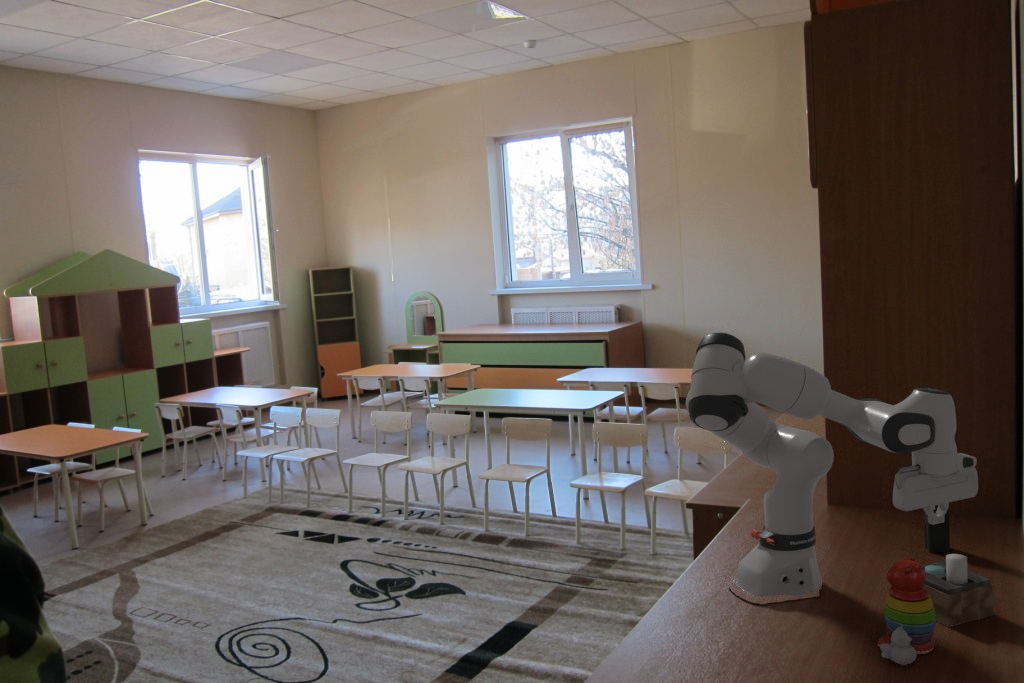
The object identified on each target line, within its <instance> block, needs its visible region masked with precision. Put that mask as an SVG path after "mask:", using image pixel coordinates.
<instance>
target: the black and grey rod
mask: <svg viewBox="0 0 1024 683" xmlns="http://www.w3.org/2000/svg"><path fill="white" fill-rule="evenodd" d="M937 508H938V505H935V510H933V511H934V513H936V511H937ZM923 512H924V544H925V546H926V547H927V548H928V549H927V548H926V547H925V546H924V547H925V548H926V549H927V551H928V552H929V551H930V552H929V553H931V552H949V551H950V552H951V538H950V536H951V535H950V534H951V533H950V530H951V529H950V506H949V507H948V509H947V512H946V514H945V515H944V519H945V521H944V522H943V523H938V524H934V525H932V524H929V523H928V515H927V514H926V513H925V511H924V510H923ZM950 552H949V553H950Z"/></svg>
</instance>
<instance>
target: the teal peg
mask: <svg viewBox="0 0 1024 683" xmlns="http://www.w3.org/2000/svg"><path fill="white" fill-rule="evenodd" d="M925 572H927V573H929V574H931V575H934V576H936V575H940V574H944V573H945V569H944V568H943V567H941V566H936V565H929V566H926V567H925Z"/></svg>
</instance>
